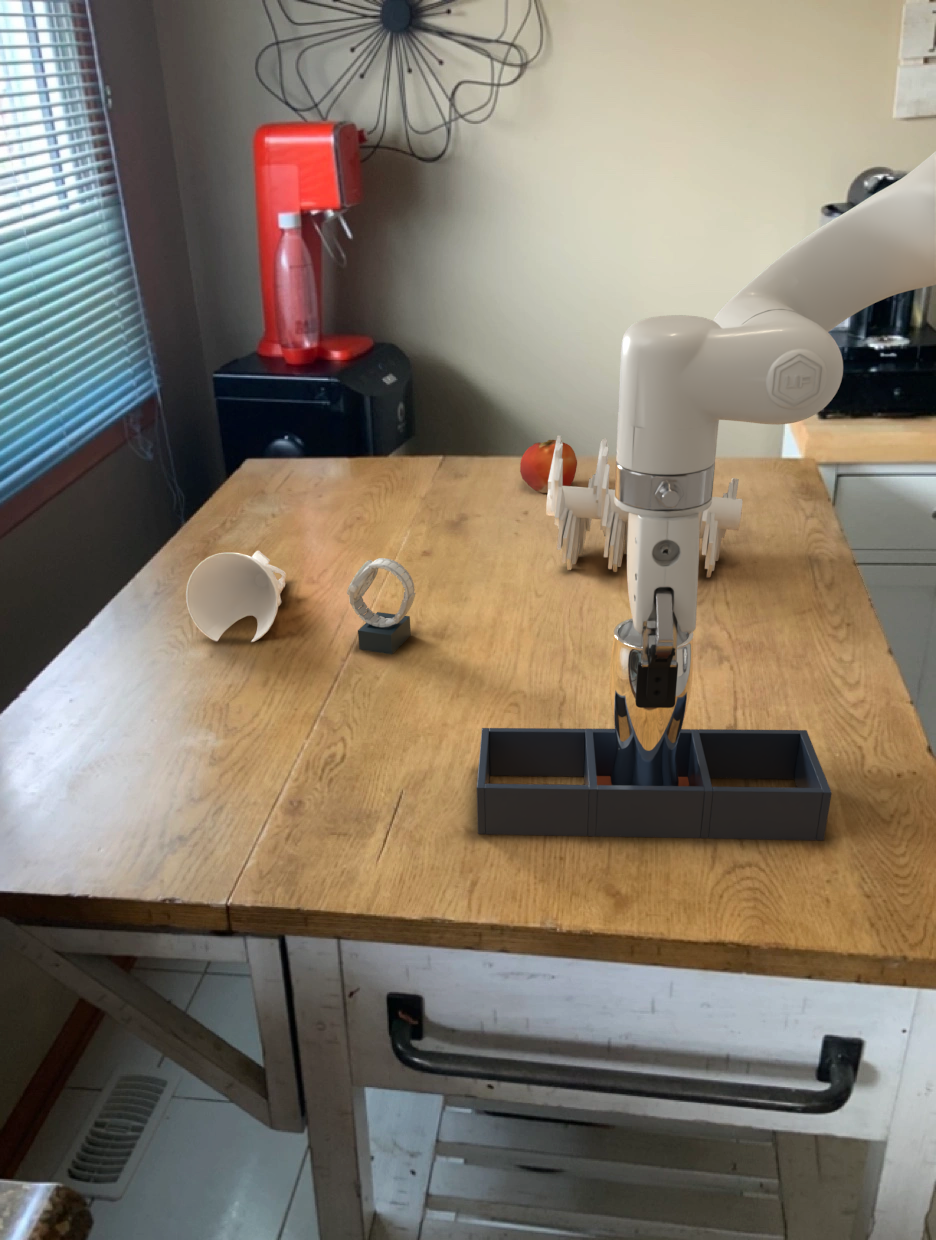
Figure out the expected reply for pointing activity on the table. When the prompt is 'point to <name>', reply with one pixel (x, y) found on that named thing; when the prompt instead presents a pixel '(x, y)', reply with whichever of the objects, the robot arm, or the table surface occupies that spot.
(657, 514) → the robot arm
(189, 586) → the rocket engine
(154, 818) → the table surface
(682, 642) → the beer glass
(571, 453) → the tomato
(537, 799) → the compartment tray
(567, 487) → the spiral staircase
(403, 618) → the watch
